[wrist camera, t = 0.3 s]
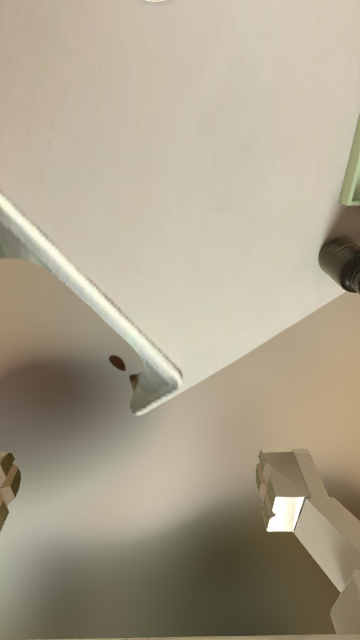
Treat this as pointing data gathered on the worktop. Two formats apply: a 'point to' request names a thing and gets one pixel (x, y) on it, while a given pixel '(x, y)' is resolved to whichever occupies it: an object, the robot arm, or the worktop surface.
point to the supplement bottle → (342, 263)
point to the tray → (352, 174)
